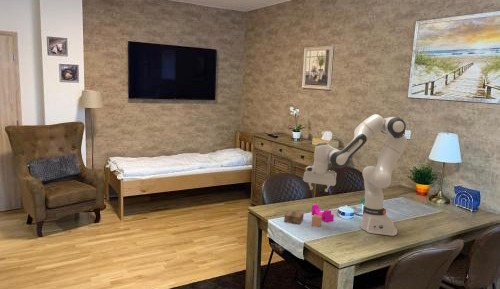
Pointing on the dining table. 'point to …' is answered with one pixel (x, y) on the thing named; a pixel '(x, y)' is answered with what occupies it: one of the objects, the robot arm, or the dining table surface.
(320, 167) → the robot arm
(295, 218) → the walnut base block
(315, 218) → the terracotta block
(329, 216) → the toy block
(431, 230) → the dining table surface
